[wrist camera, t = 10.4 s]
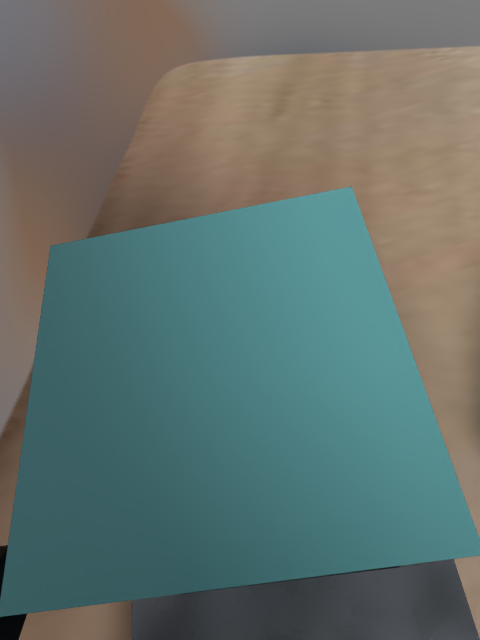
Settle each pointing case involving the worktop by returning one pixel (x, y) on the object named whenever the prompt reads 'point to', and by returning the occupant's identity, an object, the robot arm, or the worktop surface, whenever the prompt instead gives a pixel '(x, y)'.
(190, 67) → the worktop surface
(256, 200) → the worktop surface
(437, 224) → the worktop surface
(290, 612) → the port
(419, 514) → the plug
